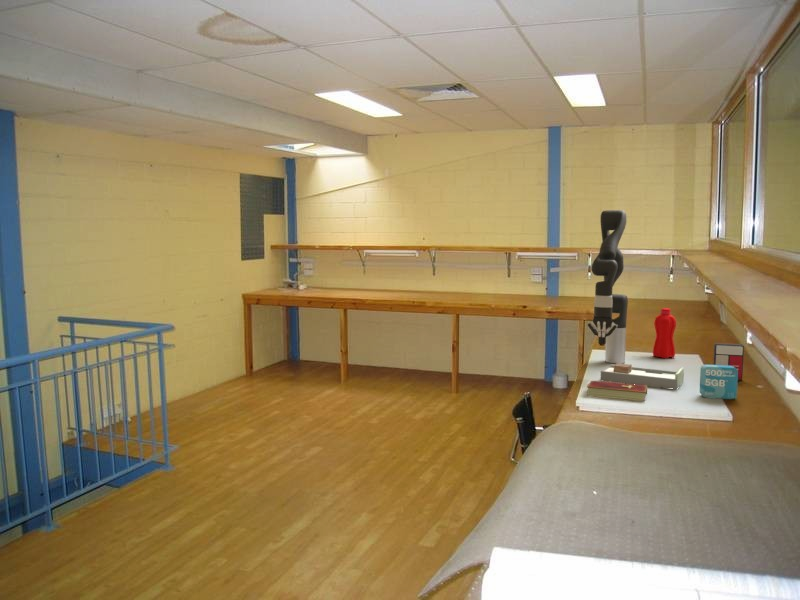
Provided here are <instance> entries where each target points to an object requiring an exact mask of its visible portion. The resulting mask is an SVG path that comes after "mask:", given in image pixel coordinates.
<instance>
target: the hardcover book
mask: <svg viewBox="0 0 800 600" xmlns="http://www.w3.org/2000/svg"><path fill="white" fill-rule="evenodd" d="M586 388H587V396H588V395H593V396H592V397H598V396H599V398H600V397H601V398H609V399H619V400H630V401H640V402H645V400H646V396H647V395H648V386H645V385H634V384H625V383H617V382H609V381H600V380H598V381H597V380H590V381H589V382H588V384H587V385H586ZM646 394H647V395H646Z"/></svg>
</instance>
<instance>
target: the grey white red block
mask: <svg viewBox="0 0 800 600" xmlns="http://www.w3.org/2000/svg"><path fill="white" fill-rule="evenodd" d="M744 351H745V346H744V345H743V344H741V343H740V344H739V343H722V342H714V344H713V363H712V365H727V366H733V367H734V368H736V369H737V370H738V381H743V375H744V374H743V373H744V371H743V370H744V357H745V356H744V354H745V353H744Z"/></svg>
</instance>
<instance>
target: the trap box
mask: <svg viewBox="0 0 800 600" xmlns="http://www.w3.org/2000/svg"><path fill="white" fill-rule="evenodd" d="M614 365H615V364H610V367H608V368H606V369H605V370H601V371H600V380H603V381H602V382H609V381H611V382H612V383H623V384H625V383H626V384H635V385H645V386H647V387H651V386H652V387H653V388H659V387H663V388H662V389H667V388H673V389H672V390H676V389H677V388H678V387H679V386H680V387H681V385H682V384H683V383H684V382H683V381H684V380H685V379H684V377H685V369H684V368H685V367H680V369H679V370H678V371H676V370H675V371H674V370H665V369H656V368H646V367H637V366H632V369H631V372H630V373H629V374H625V373H616V372H614ZM600 380H599V381H600ZM652 387H651V388H652ZM678 389H679V388H678ZM678 389H677V390H678Z"/></svg>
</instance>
